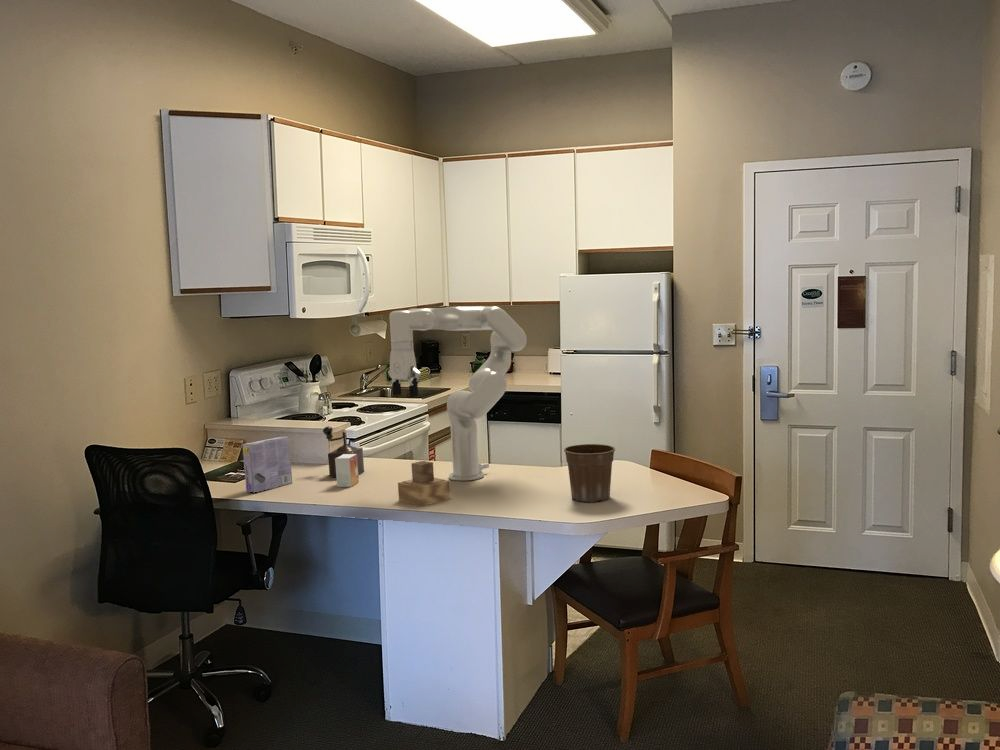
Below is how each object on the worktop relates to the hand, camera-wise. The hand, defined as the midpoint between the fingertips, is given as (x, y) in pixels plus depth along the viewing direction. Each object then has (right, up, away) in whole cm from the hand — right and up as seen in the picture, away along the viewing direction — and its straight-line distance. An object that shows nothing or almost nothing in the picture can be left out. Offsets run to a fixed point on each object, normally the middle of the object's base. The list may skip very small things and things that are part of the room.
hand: (405, 395), depth 315 cm
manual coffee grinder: (-27, -31, +31) cm, 52 cm away
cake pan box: (-50, -34, +15) cm, 62 cm away
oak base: (+8, -34, -15) cm, 38 cm away
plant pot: (+62, -32, -24) cm, 74 cm away
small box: (-22, -33, +13) cm, 41 cm away
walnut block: (+8, -28, -16) cm, 33 cm away
